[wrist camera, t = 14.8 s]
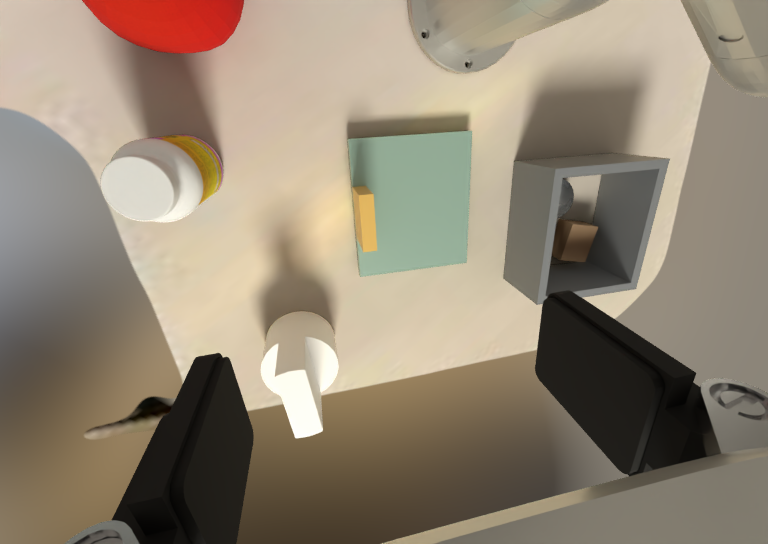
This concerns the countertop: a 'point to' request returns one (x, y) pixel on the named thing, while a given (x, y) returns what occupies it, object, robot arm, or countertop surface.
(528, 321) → the countertop surface
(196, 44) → the tomato
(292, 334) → the cylinder with rectangular tab
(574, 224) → the walnut block
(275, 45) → the countertop surface
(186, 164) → the supplement bottle
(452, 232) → the door
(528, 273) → the tub
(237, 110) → the countertop surface
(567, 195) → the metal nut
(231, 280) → the countertop surface
